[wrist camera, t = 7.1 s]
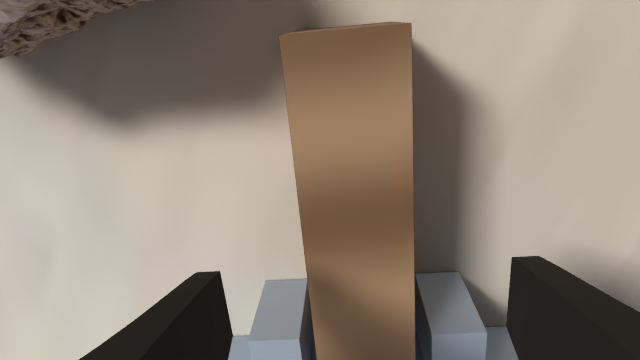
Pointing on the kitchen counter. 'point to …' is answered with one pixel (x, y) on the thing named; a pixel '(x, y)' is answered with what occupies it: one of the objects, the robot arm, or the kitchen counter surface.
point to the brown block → (355, 184)
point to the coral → (47, 20)
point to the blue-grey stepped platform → (430, 321)
